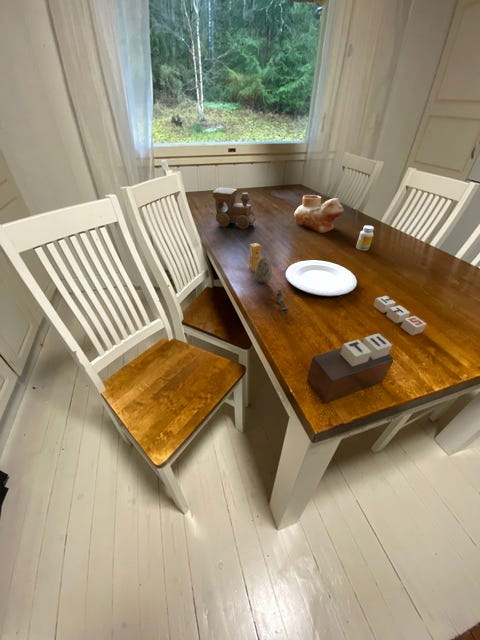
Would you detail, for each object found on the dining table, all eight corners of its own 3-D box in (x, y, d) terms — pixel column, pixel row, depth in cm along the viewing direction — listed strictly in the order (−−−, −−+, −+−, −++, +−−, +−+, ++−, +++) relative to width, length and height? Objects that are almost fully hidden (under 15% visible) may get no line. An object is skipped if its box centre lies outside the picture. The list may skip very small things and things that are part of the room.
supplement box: (256, 266, 107) (257, 242, 101) (259, 270, 104) (261, 246, 98) (248, 268, 106) (249, 243, 100) (251, 272, 103) (252, 247, 97)
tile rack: (382, 382, 63) (394, 359, 58) (324, 404, 58) (332, 380, 53) (361, 361, 68) (371, 338, 63) (306, 379, 64) (312, 356, 59)
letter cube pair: (406, 320, 81) (411, 312, 79) (395, 323, 80) (399, 315, 78) (383, 303, 88) (386, 295, 86) (372, 306, 87) (375, 298, 85)
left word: (387, 354, 59) (392, 344, 57) (352, 366, 56) (356, 356, 54) (374, 343, 62) (378, 332, 60) (340, 353, 59) (343, 343, 57)
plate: (289, 299, 89) (290, 294, 88) (281, 263, 109) (281, 259, 108) (365, 300, 89) (367, 295, 88) (343, 264, 109) (345, 260, 108)
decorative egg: (260, 276, 101) (261, 251, 95) (274, 281, 98) (276, 255, 92) (251, 283, 97) (252, 257, 91) (265, 288, 94) (267, 262, 88)
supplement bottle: (353, 247, 121) (359, 226, 115) (360, 244, 124) (366, 223, 118) (364, 252, 118) (371, 230, 112) (371, 248, 121) (378, 227, 115)
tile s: (422, 332, 77) (427, 323, 75) (411, 335, 76) (416, 327, 74) (410, 323, 80) (415, 315, 78) (400, 326, 79) (404, 318, 77)
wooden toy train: (213, 226, 141) (211, 191, 130) (221, 219, 149) (220, 186, 139) (250, 231, 136) (251, 195, 126) (256, 223, 145) (257, 189, 134)
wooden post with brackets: (279, 294, 90) (282, 286, 86) (284, 315, 86) (288, 308, 82) (273, 294, 90) (276, 287, 86) (279, 316, 86) (282, 309, 82)
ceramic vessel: (328, 236, 131) (336, 204, 122) (287, 222, 146) (291, 192, 137) (344, 229, 138) (352, 198, 129) (303, 216, 154) (308, 188, 144)
